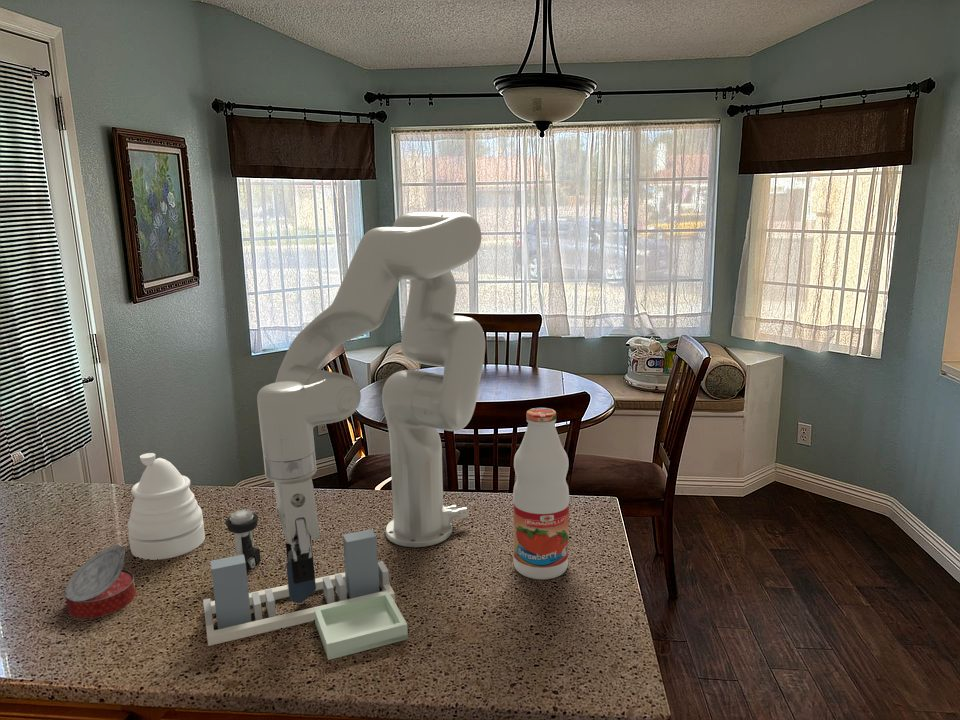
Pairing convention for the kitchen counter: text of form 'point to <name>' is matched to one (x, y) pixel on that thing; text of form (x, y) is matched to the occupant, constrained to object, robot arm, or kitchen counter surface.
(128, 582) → the canned food
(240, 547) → the push button
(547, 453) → the fruit juice
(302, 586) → the vaping device
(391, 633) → the tray
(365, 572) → the rail
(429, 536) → the robot arm
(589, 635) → the kitchen counter surface
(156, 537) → the honey pot
